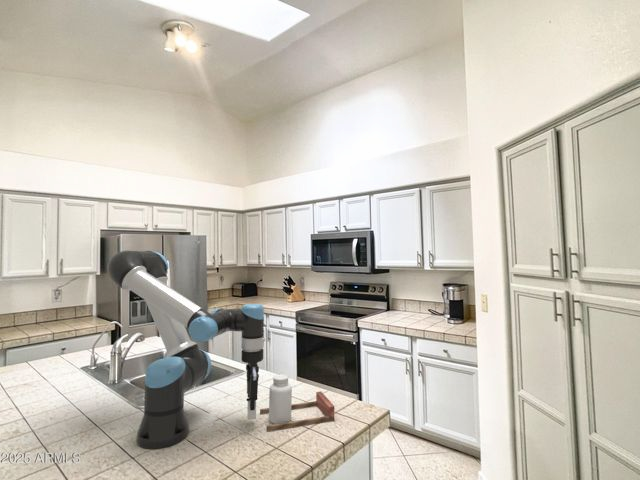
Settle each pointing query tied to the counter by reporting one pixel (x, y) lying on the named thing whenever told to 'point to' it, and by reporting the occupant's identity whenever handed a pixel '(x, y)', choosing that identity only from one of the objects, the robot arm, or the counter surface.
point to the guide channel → (324, 407)
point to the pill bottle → (280, 400)
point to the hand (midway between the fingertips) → (251, 418)
